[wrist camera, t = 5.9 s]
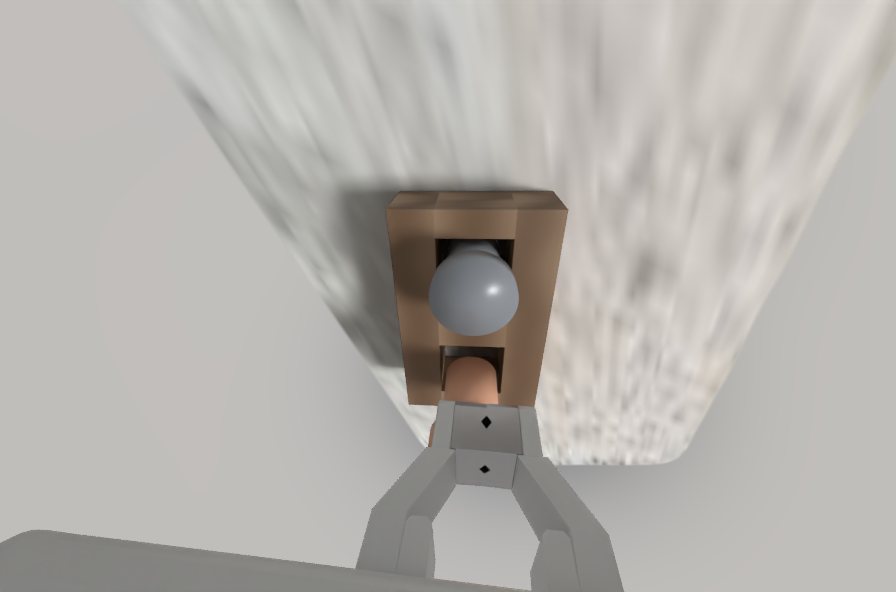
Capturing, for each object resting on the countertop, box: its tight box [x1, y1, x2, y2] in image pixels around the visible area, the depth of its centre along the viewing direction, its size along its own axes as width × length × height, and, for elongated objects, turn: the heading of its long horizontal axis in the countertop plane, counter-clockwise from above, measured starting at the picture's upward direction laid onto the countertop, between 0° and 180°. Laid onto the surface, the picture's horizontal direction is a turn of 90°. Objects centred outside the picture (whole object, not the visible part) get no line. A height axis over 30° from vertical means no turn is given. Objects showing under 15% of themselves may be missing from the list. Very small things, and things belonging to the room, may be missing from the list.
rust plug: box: [428, 357, 498, 447], centre depth 21 cm, size 5×5×6 cm
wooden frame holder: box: [386, 191, 568, 407], centre depth 24 cm, size 10×16×4 cm, turn 1°
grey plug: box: [429, 239, 519, 336], centre depth 20 cm, size 5×5×6 cm
